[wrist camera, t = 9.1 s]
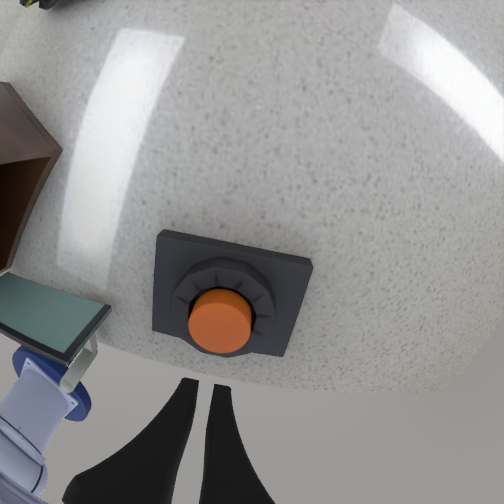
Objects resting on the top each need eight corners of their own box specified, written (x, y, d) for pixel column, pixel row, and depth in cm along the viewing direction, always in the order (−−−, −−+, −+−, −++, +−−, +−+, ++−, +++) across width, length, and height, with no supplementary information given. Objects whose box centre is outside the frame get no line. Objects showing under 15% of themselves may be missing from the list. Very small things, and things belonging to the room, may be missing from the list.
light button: (191, 330, 18) (185, 346, 16) (197, 282, 16) (191, 296, 15) (245, 341, 18) (244, 358, 16) (256, 294, 17) (256, 310, 15)
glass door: (117, 354, 21) (84, 410, 14) (17, 315, 20) (-21, 350, 14) (111, 305, 19) (66, 361, 12) (7, 271, 18) (-39, 303, 12)
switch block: (157, 321, 21) (144, 344, 18) (163, 229, 18) (146, 243, 15) (282, 346, 21) (284, 372, 18) (310, 258, 18) (319, 277, 16)
